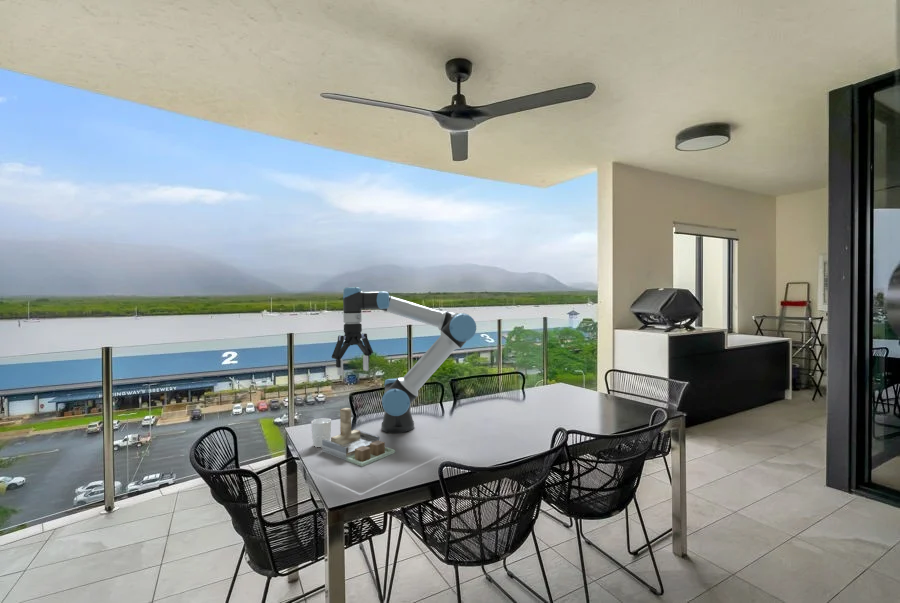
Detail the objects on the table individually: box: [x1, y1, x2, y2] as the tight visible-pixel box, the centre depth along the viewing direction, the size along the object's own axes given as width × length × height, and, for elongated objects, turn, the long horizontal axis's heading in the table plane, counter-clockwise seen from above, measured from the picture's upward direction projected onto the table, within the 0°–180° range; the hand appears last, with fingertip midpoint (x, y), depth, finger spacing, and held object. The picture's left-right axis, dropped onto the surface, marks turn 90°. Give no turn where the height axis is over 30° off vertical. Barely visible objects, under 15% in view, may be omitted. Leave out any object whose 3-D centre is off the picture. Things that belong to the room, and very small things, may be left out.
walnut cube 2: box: [370, 440, 386, 456], centre depth 151 cm, size 4×4×4 cm
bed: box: [321, 430, 380, 461], centre depth 155 cm, size 16×15×5 cm
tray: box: [345, 446, 396, 467], centre depth 148 cm, size 16×9×2 cm, turn 142°
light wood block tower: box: [330, 407, 361, 445], centre depth 157 cm, size 12×3×13 cm, turn 142°
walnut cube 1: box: [355, 446, 371, 462], centre depth 145 cm, size 4×4×4 cm
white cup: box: [310, 417, 332, 448], centre depth 162 cm, size 8×8×10 cm
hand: (353, 372), depth 168 cm, fingers open, 13 cm apart
